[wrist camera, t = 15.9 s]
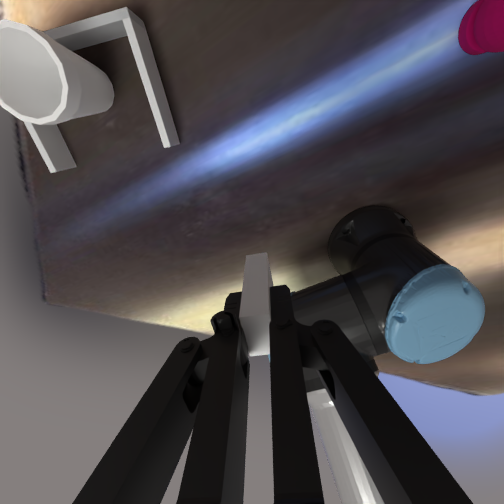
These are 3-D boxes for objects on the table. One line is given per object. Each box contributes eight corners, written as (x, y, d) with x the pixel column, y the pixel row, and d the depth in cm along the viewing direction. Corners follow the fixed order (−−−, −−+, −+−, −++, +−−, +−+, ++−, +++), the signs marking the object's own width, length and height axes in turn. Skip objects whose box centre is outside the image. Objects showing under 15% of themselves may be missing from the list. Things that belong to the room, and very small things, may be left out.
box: (180, 144, 43) (170, 146, 38) (71, 168, 45) (50, 173, 40) (143, 21, 36) (126, 6, 31) (17, 57, 38) (-15, 48, 34)
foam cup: (86, 35, 37) (5, -6, 25) (136, 94, 40) (84, 83, 28) (50, 84, 39) (-39, 68, 28) (99, 136, 42) (38, 141, 31)
